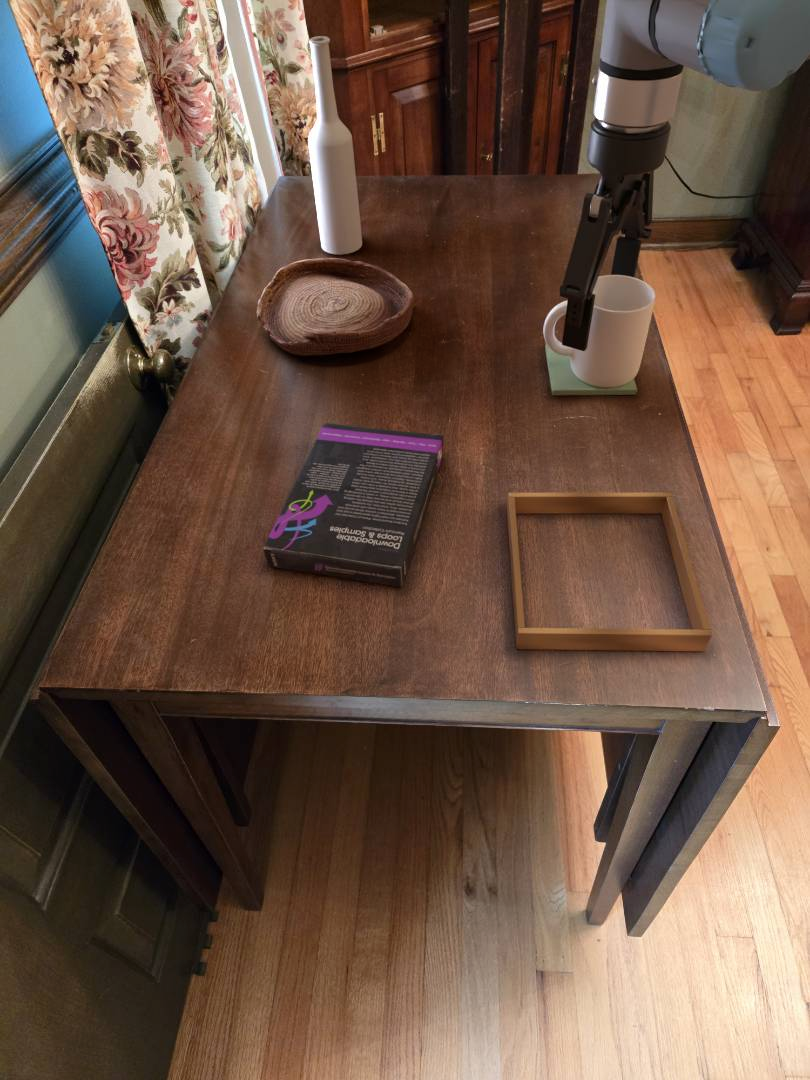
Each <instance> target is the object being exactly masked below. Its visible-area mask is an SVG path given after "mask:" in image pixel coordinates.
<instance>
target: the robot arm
mask: <svg viewBox="0 0 810 1080" xmlns="http://www.w3.org/2000/svg"><path fill="white" fill-rule="evenodd" d="M604 14H605V15H604V21H603V31H602V38H601V45H600V46H601V47H600V52H599V53H600V54H599V64H598V72H597V73H596V74H594V76H593V77H592V85H593V86H594V87H596V89H595V94H594V102H593V112H592V113H593V117H595V118H594V119H593V121H592V122H591V123H590V128H589V135H588V143H587V151H586V160H587V162H588V164H589V165H590V166H591V167H592V168H594V169H595V170H597V172H599V174H600V179H599V182H598V183H597V184H596V186H595V188H594V191H593V192H592V193H591V192H587V193H586V194H585V196H584V198H583V204H582V209H581V215H580V221H579V224H578V227H577V231H576V234H575V238H574V241H573V245H572V248H571V252H570V256H569V259H568V263H567V266H566V270H565V273H564V277H563V280H562V284H561V285H560V286H559V297H561V298H564V299H567V300H568V301H567V300H566V301H567V309H566V314H565V317H564V323H563V332H562V341H561V343H562V345H564V346H567V347H571V348H574V349H577V350H581V351H585V350H586V349H587V344H588V338H589V332H590V326H591V320H592V313H593V307H594V301H595V294H593V290H594V287H595V285H596V282H597V279H598V277H600V273H601V270H602V268H603V266H604V263H605V260H606V257H607V255H608V252H609V249H610V246H611V243H612V242H613V239H614V237H615V236H617V235H619V234H620V233H621V235H623V236H621V235H619V236H618V237H617V238H616V242H615V247H614V255H613V259H612V265H611V271H610V275H624V276H630V277H634V278H636V272H637V267H638V262H639V257H640V253H641V248H642V242H643V241H642V239H643V240H647V241H649V240H650V238H651V236H652V232H653V229H652V228H648V227H650V225H651V224H652V222H653V208H654V207H653V206H654V205H653V204H654V180H655V179H654V177H655V171H656V170H657V169H659V168H660V167H662V165H663V163H664V162H665V158H666V154H667V149H668V144H669V139H670V135H671V130H672V125H671V124H670V121H671V120H672V119H673V118H674V117H675V113H676V108H677V103H678V97H679V93H680V87H681V83H682V76H683V71H684V67H685V68H688V69H690V70H693V71H694V72H697V73H700V74H702V75H704V76H707V77H709V78H710V79H712V80H714V81H715V82H716V83H717V84H723V86H725V87H730V88H738V89H743V90H747V91H750V92H764V91H767V90H772V89H774V88H776V87H777V86H779V85H781V84H782V83H783V81H784V80H785V79H786V78H787V77H789V76H791V75H792V74H795V73H796V72H797V70H799V69H800V68H801V67H802V65H803V64H804V63H805V61H810V0H606V4H605V12H604ZM640 239H641V240H640Z"/></svg>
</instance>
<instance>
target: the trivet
mask: <svg viewBox="0 0 810 1080" xmlns="http://www.w3.org/2000/svg"><path fill="white" fill-rule="evenodd" d="M544 346H545V348H544V349H545V356H546V363H547V364H546V365H547V369H548V370H547V371H548V376H549V383H550V390H551V396H619V395H620V396H627V395H628V396H631V395H633V396H635V395H636V396H637V392H638V387H637V384H636V380H635V378H634V379H633V380H631V381H630V382H628V383H626V384H624V385H622V386H618V387H611V388H604V387H597V386H593V385H589V384H587V383H585V382H583V381H582V380H580V379H579V378H578V377H577V376H576V375H575V374H574V373H573V371H572V368H571V357H568V356H563V355H560V354H557V353H555V352H554V351H552V350H551V349H550V348H549V347H548V345H547V343H545V345H544Z"/></svg>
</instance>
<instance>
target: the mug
mask: <svg viewBox="0 0 810 1080" xmlns="http://www.w3.org/2000/svg"><path fill="white" fill-rule="evenodd" d="M593 294H595V301H594V307H593V313H592V320H591V326H590V332H589V338H588V344H587V349H586V350H585V351H581V350H577V349H574V348H571V347H567V346H564V345H562V341H559V340H558V339H557V337H556V335H555V334H556V333H555V328H556V324H557V322H558V321H559V319H560V318H561V317H563V316H566V309H567V301H568V299H567V300H564V301H561V302H560V303H558V304H556V305H555V306H554V307H553V308H552V309H551V310H550V311H549V312H548V314H547V315H546V317H545V320H544V323H543V328H542V329H543V331H542V333H543V338H544V341H545V344H547V345H548V347H549V348H550V349H551V350H552V351H554V352H555V353H557V354H560V355H563V356H568V357H571V368H572V371H573V373H574V374H575V375H576V376H577V377H578V378H579V379H580V380H582V381H583V382H585V383H587V384H589V385H593V386H597V387H604V388H611V387H618V386H622V385H624V384H626V383H628V382H630V381H631V380H633V379H634V380H635V378H636V377H637V375H638V373H639V370H640V367H641V364H642V359H643V355H644V352H645V346H646V343H647V342H646V341H647V337H648V333H649V329H650V325H651V320H652V317H653V312H654V309H655V303H656V299H657V294H656V292H655V289H654V288H653V287H652V286H651V285H650V284H649V283H647V282H645V281H644V280H642V279H639V278H637V277H635V278H634V277H630V276H624V275H611V274H605V275H599V276H598V279H597V282H596V285H595V287H594V290H593Z"/></svg>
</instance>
